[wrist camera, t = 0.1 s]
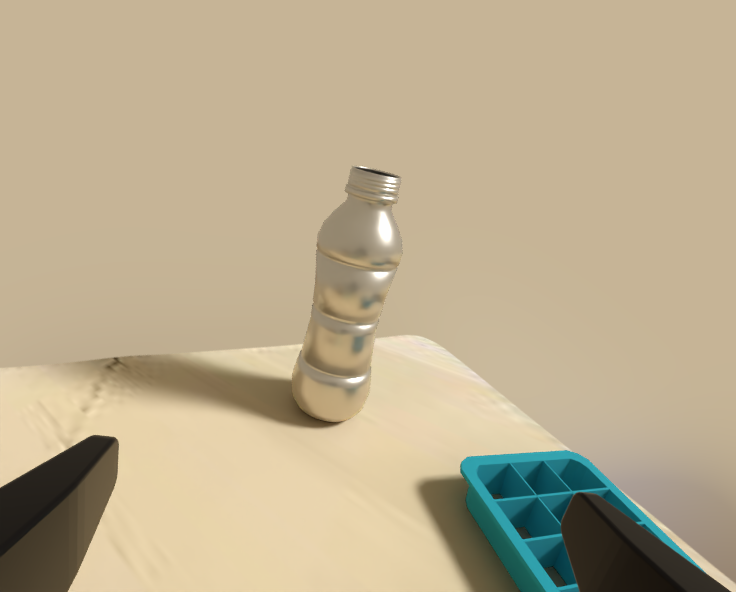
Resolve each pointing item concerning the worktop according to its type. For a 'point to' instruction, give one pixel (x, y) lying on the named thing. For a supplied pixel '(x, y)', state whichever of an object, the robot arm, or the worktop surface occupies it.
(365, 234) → the plastic bottle
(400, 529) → the worktop surface
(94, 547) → the worktop surface
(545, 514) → the ice cube tray
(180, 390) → the worktop surface
